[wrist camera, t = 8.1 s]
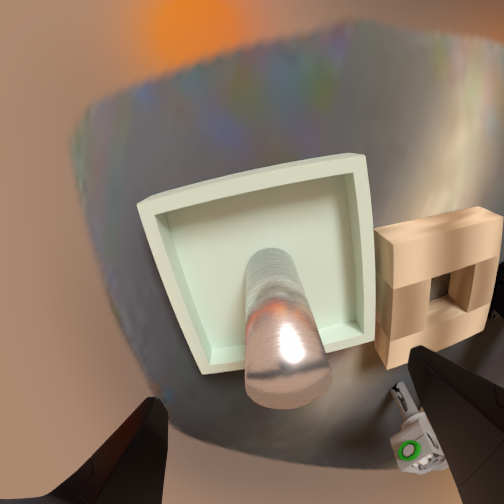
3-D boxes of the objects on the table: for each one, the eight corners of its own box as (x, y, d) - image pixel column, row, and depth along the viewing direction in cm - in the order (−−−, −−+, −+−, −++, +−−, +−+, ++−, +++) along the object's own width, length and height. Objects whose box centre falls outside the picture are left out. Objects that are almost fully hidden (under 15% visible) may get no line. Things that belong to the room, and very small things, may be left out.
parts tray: (348, 152, 15) (365, 155, 13) (362, 320, 20) (374, 340, 17) (151, 195, 16) (136, 204, 14) (205, 351, 21) (202, 374, 18)
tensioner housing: (478, 206, 17) (503, 217, 14) (466, 312, 20) (483, 330, 17) (372, 228, 17) (393, 244, 14) (373, 345, 21) (386, 369, 18)
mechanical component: (405, 408, 25) (435, 476, 16) (359, 378, 22) (393, 471, 13) (425, 392, 24) (461, 459, 15) (384, 358, 22) (430, 449, 12)
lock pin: (291, 243, 17) (330, 343, 8) (298, 287, 18) (333, 399, 9) (240, 253, 17) (235, 361, 8) (251, 296, 18) (255, 414, 10)
